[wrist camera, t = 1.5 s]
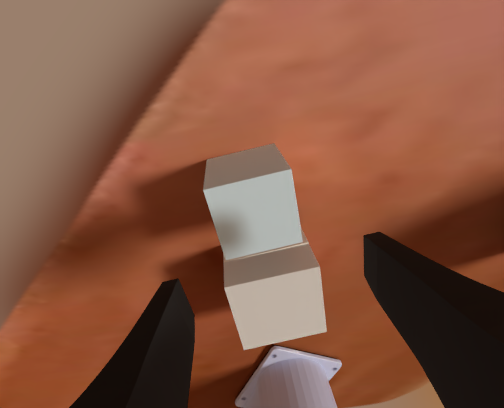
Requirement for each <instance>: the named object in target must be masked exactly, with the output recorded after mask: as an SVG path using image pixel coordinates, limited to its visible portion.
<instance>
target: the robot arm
mask: <svg viewBox="0 0 504 408" xmlns="http://www.w3.org/2000/svg"><path fill="white" fill-rule="evenodd" d="M364 276H365V278H366V280H367V282H368V284H369V286H370V288H371V290H372V292H373V294H374V295H375V297H376V299H377V301H378V302H379V304H380V305H381V307H382V308H383V310H384V311H385V313H386V314H387V316H388V317H389V318H390V320H391V321H392V323H393V324H394V326H395V327H396V329H397V330H398V332H399V333H400V334H401V336H402V337H403V339H404V340H405V342H406V343H407V345H408V346H409V348H410V349H411V350H412V352H413V353H414V355H415V357H416V358H417V360H418V361H419V363H420V364H421V366H422V368H423V369H424V371H425V373H426V375H427V377H428V378H429V380H430V382H431V384H432V385H433V387H434V389H435V391H436V392H437V394H438V396H439V398H440V400H441V402H442V404H443V405H444V407H445V408H504V292H501V291H499V290H496V289H494V288H491V287H489V286H486V285H484V284H481V283H479V282H477V281H474V280H472V279H470V278H467V277H465V276H463V275H461V274H459V273H457V272H455V271H453V270H450V269H448V268H446V267H444V266H442V265H440V264H438V263H436V262H434V261H432V260H430V259H428V258H427V257H425V256H423V255H421V254H419V253H417V252H415V251H414V250H412V249H410V248H408V247H406V246H404V245H403V244H401V243H399V242H397V241H395V240H394V239H392V238H390V237H388V236H386V235H385V234H383V233H381V232H376V233H372V234H368V235H364ZM194 343H195V322H194V313H193V311H192V308H191V306H190V304H189V302H188V299H187V297H186V295H185V292H184V290H183V288H182V286H181V283H180V281H179V279H174V280H169V281H165V282H162V284H161V286H160V287H159V289H158V290H157V292H156V293H155V295H154V296H153V298H152V299H151V301H150V303H149V304H148V306H147V307H146V309H145V310H144V312H143V314H142V315H141V317H140V318H139V320H138V321H137V323H136V324H135V326H134V327H133V329H132V330H131V332H130V333H129V334H128V336H127V337H126V339H125V340H124V341H123V343H122V344H121V346H120V347H119V348H118V350H117V351H116V353H115V354H114V355H113V357H112V358H111V359H110V361H109V362H108V363H107V364H106V366H105V367H104V368H103V369H102V371H101V372H100V373H99V374H98V376H97V377H96V378H95V379H94V380H93V382H92V383H91V384H90V385H89V386H88V387H87V389H86V390H85V391H84V392H83V393H82V394H81V396H80V397H79V398H78V399H77V400H76V401H75V402H74V403H73V404H72V405H71V406H70V407H69V408H187V406H188V397H189V388H190V380H191V371H192V362H193V353H194ZM341 366H342V363H341V361H340V360H338V359H333V358H329V357H325V356H320V355H316V354H311V353H307V352H302V351H298V350H293V349H289V348H285V347H280V346H274V347H272V348H271V349H270V351H269V352H268V354H267V355H266V356H265V358H264V359H263V361H262V362H261V364H260V365H259V367H258V368H257V370H256V371H255V372H254V374H253V375H252V377H251V378H250V380H249V381H248V383H247V384H246V386H245V387H244V388H243V390H242V391H241V393H240V394H239V396H238V397H237V399H236V400H235V405H236V406H237V407H243V408H337V405H336V402H335V399H334V396H333V394H332V391H331V388H330V385H329V382H328V381H329V380H330V379H331V378H332V377H333V375H334V374H335V373H336V372H337V371H338V370H339V368H340V367H341Z"/></svg>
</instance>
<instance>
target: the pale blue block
mask: <svg viewBox="0 0 504 408" xmlns="http://www.w3.org/2000/svg"><path fill="white" fill-rule="evenodd" d="M203 192H204V195H205V198H206V201H207V204H208V207H209V210H210V213H211V216H212V219H213V222H214V225H215V229H216V232H217V235H218V238H219V241H220V244H221V247H222V250H223V253H224V256H225V259H226V260H230V259H234V258H238V257H242V256H246V255H250V254H255V253H259V252H263V251H267V250H271V249H276V248H280V247H284V246H288V245H292V244H297V243H301V242H303V239H302V233H301V226H300V220H299V214H298V207H297V201H296V195H295V189H294V182H293V176H292V170H291V168H290V166H289V165H288V163H287V162H286V160H285V159H284V157H283V156H282V154H281V153H280V151H279V150H278V148H277V147H276V145H275V144H274V143H273V144H269V145H265V146H261V147H257V148H253V149H249V150H244V151H240V152H236V153H232V154H228V155H224V156H219V157H215V158H211V159H207V162H206V170H205V178H204V186H203Z"/></svg>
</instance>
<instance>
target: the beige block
mask: <svg viewBox="0 0 504 408" xmlns="http://www.w3.org/2000/svg"><path fill="white" fill-rule="evenodd" d="M224 289H225V292H226V295H227V298H228V301H229V304H230V308H231V311H232V314H233V317H234V320H235V323H236V326H237V329H238V333H239V336H240V339H241V342H242V345H243V348H244V350H246V349H251V348H255V347H260V346H264V345H269V344H273V343H278V342H282V341H287V340H292V339H296V338H301V337H305V336H310V335H314V334H319V333H323V332H327V329H326V320H325V310H324V301H323V292H322V282H321V273H320V266H319V264H318V262H317V260H316V258H315V256H314V254H313V252H312V249H311V247H310V245H309V243H308V244H303V245H299V246H294V247H290V248H285V249H281V250H277V251H272V252H268V253H263V254H259V255H254V256H250V257H245V258H241V259H236V260H232V261H227V262H224Z"/></svg>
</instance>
